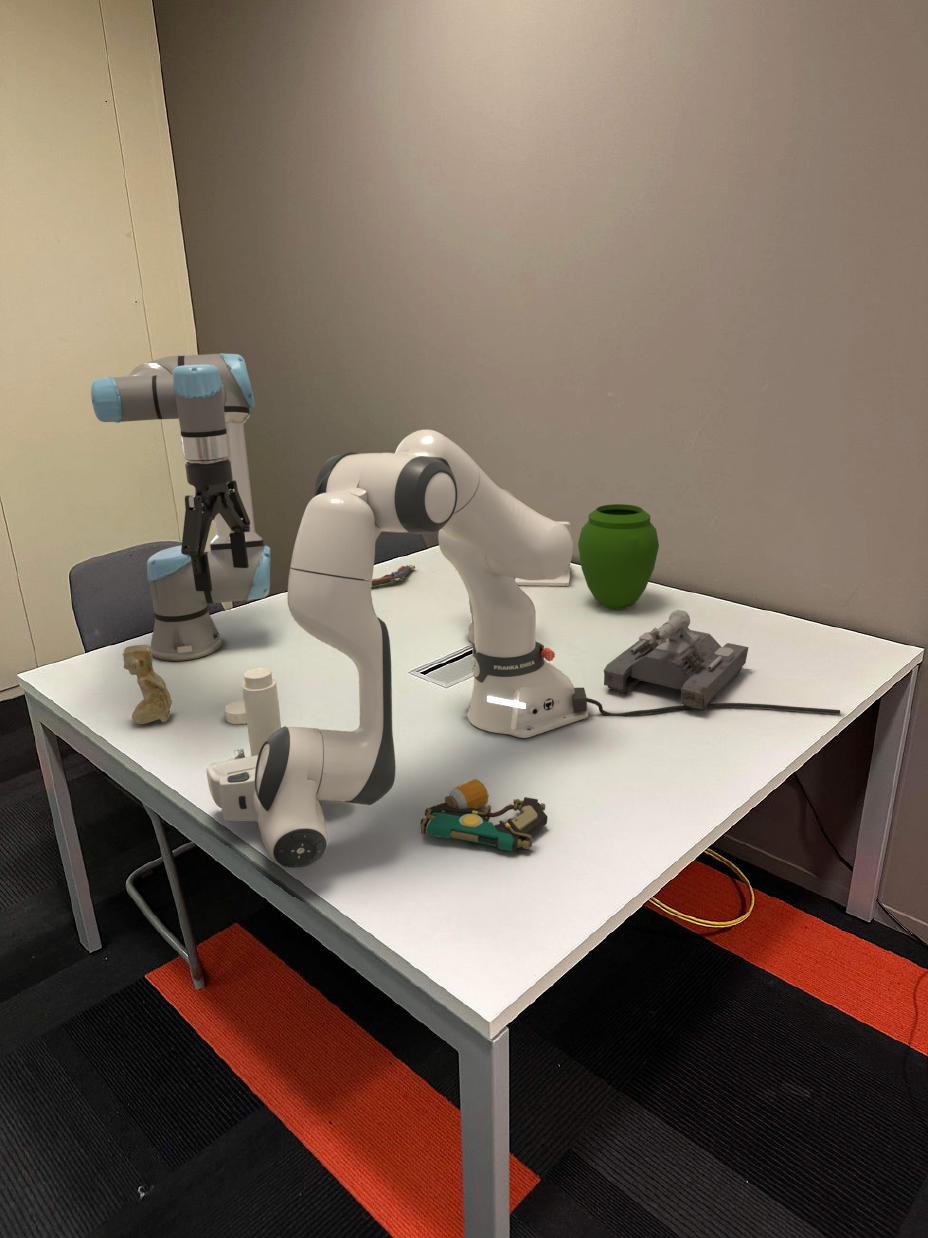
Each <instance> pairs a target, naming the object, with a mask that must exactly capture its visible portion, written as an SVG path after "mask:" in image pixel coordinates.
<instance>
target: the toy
mask: <svg viewBox="0 0 928 1238" xmlns="http://www.w3.org/2000/svg"><path fill="white" fill-rule="evenodd" d="M690 624H691V617H690V614H689V613H688V612H687V611H685V610H680V609H676V610H674V611H672V612H671V613H670V614H669V617H668V620H667V621H665V623H663V624H662V625H660V626H659V627H658V628H657V627H654V628H653V629H652V630H651V631H647V632H644V633H643V634H641V635H639V637H638V640H637V641H636V642H634V644H632V645H631V646H630V647H628V648H626V649H625V650H624V651H623V652H622V653H620V654H619V655H618V656H616V657H615V658H613V659H612V660H611V661H610V662H608V663H607V664H606V666H605V668H604V669H603V685H604V686H607V688H608V689H609V690H610V689H611V690H615V691H618V692H622V693H628V692H629V691H630V690H631V689H632V688H634V687H635V686H636V685H637V684H638V683H640V682H645V683H648V684H649V683H650V684H653V685H658V686H662V687H667V688H671V689H675V690H680V691H681V693H680V705H685V706H688V707H691V708H690V709H696V710H700V711H705V709H707V708H708V707H707V706H708V704H709V703H713V702H714V700H715V699H716V698H717V697H718V696H719V695H720V694H721V693H722V692H723V691H724V690H725V689H726V688H727V687H728V686H729V684H731V683H732V682H733V680H734V679H735V678H736V677H738V676H739V674H740V673H741V672H742V669H743V667H744V666H745V664H746V663H747V658H748V652H749V646H746V645H745V646H744V645H740V644H735V643H730V642H726V643H725V644H724V645H723V646H721V644H720V643H719V642H718V641H717V640H716V639H715V638H714V637H713V635H711V633H709V632H702V631H698V630H693V629H690V628H689V626H690Z"/></svg>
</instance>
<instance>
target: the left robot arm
mask: <svg viewBox="0 0 928 1238" xmlns="http://www.w3.org/2000/svg"><path fill="white" fill-rule="evenodd" d="M90 399H91V404H92V409H93V412H94V415H95V417H96V419H97V420H99V422H101V423H116V424H118V423H125V422H126V423H127V422H140V421H155V420H159V421H160V420H177V419H178V420H179V421H178V422H179V423H178V424H179V428H180V436H181V445H182V450H183V459H185V460H186V463H185V464H184V467H185V475H186V481H187V483H188V484H189V485H190V486H193V487H194V489H195V492H194V495H188V494H187V495H185V496H184V506H185V512H184V519H183V520H184V521H183V529H182V530H183V531H182V539H181V545H177V546H171V547H167V548H165V549H162V550H160V551H158V552H155V553H154V554H153V555H151V556H149V558H148V559H147V561H146V572H147V573H146V574H147V578H146V579H147V581H148V586H149V591H150V598H151V603H152V609H153V615H154V626H153V631H152V636H151V642H150V646H151V647H152V649H151V653H152V657H154V658H156V659H158V660H162V661H169V662H181V661H190V660H195V659H200V658H203V657H206V656H208V655H211V654H213V653H215V652H216V651H218V650H219V649H220V648H221V646H222V638H221V637H222V636H221V634H220V632H219V630H218V628H217V626H216V624H215V622H214V621H213V619H212V616H211V615H210V612H209V604H210V605H211V604H220V603H230V602H231V603H232V602H242V601H247V602H249V601H251V600H258V599H264V598H266V597H267V596H268V595H269V593H270V587H271V562H272V561H271V555H272V554H271V552H272V549H271V547H270V546H268V545H264V538H263V537H261V536H260V535H259V534H258V533H257V532H256V527H255V526H256V525H255V518H254V507H253V506H254V505H253V498H252V490H251V489H252V488H251V479H250V471H249V470H250V469H249V463H248V462H249V459H248V452H247V451H248V450H247V443H246V434H245V423H246V422H247V421H248V420H249V418H250V417H251V413H250V409H253V408H256V402H255V397H254V393H253V389H252V384H251V380H250V376H249V372H248V368H247V364H246V360H245V358H244V357H243V356H242V355H240V354H238V353H223V352H220V353H208V354H207V353H205V354H191V355H189V354H188V355H169V356H164V357H160V358H157V359H153V360H149V361H147V362H145V363H142V364H138V365H137V366H136V367H135V368H133V370H132V371H131V372H130V374H127V375H124V376H107V377H100V378H97V377H96V378H95V379H93V380H92V381H91V385H90ZM212 522H214V530H215V536H214V537H213V539H212V540H211V541H210V542H209V549H210V551H205V550H206V545H207V543H208V539H209V533H210V530H211V526H212Z"/></svg>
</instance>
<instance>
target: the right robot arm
mask: <svg viewBox="0 0 928 1238" xmlns="http://www.w3.org/2000/svg"><path fill="white" fill-rule="evenodd" d="M314 484H315V485H314V497H312V499H310V500H309V502H308V504H307V505H306V507H305V509H304V512H303V515H302V518H301V521H300V524H299V528H298V530H297V534H296V538H295V541H294V545H293V551H292V555H291V560H290V561H291V562H290V565H289V566H290V568H289V572H288V581H287V607H288V610H289V612H290V615H291V616H292V618H293V620H294V621H295V622H296V624H297V625H298V626H299V627H300V628H301V629H302V630H304V632H306V633H307V634H309V636H312V637H313V638H315V639H317V640H318V641H320V642H322V643H324V644H325V645H328V646H330V647H332V648H333V649H335V650H337V651H339V652H340V653H342V654H344V655H345V656H347V657H348V658H349V659H350V660H351V661H352V662H353V664H354V666H355V667H356V670H357V675H358V697H359V698H358V700H359V701H358V702H359V703H358V705H359V725H358V727H357V728H356V729H355V730H339V729H338V730H336V729H324V728H323V729H322V728H318V727H306V726H304V727H303V726H286V725H284V726H281V728H280V729H278V730H277V731H276V732H275V733H273V734H272V735H271V736H270V737H269V738H268V739H267V740H266V742H265V743H264V744H263V745H262V747H261V749H260V752H259V755H256V756H251V755H250V756H246V755H245V749H244V748H240V749H235V750H233V753H234V754H233V755H232V756H231V757H230V759H228V760H225V761H219V762H214V763H211V764H209V765H208V766H207V767H206V778H207V783H208V790H209V792H210V795H211V798H212V800H213V802H214V804H215V805H216V806H217V807H219V808H220V809H221V811H222V815H223V818H224V820H225V821H227V822H257V824H258V828H259V833H260V836H261V840H262V843H263V844H264V847H265V850H266V851H267V853H268V854H269V857H270V858H271V859H272V860H273V861H274V862H275V863H277V864H278V865H280V866H281V867H283V868H290V869H291V868H292V869H298V868H305V867H309V866H311V865H313V864H314V863H316V862H319V860H320V859H321V858H322V857H324V855H325V854H326V851H327V850H328V846H329V838H328V829H327V823H326V818H325V815H324V812H323V809H322V806H321V803H320V801H330V802H331V801H333V802H345V803H349V804H356V805H357V804H358V805H365V806H371V805H373V804H375V803H377V802H378V801H380V800H381V799H382V798H383V797H384V796H386V794H388V792H390V790H391V789H392V788H393V786H394V785H395V784H394V783H395V779H396V754H395V743H394V733H393V688H392V686H393V683H392V677H393V676H392V651H391V639H390V634H389V630H388V627H387V624H386V623H385V621H383V620H382V619H381V618H379V616H378V615H377V613H376V611H375V608H374V604H373V597H372V587H371V585H372V581H369V580H372V579H373V575H374V568H375V556H376V541H377V539H378V538H379V536H380V535H381V534H382V533H383V532H385V533H388V532H389V533H410V534H413V535H425V534H433V533H436V532H437V542H438V547H439V550H440V552H441V554H442V556H443V557H444V558H445V559H446V560H447V561H448V562H449V563H450V564H451V565H452V566H453V567H454V569H455V571H457V573H458V575H459V577H460V579H461V580H462V582H463V584H464V587H465V589H466V592H467V594H468V598H469V597H470V601H471V605H472V610H473V621H474V639H475V644H473V645H472V655H471V668H472V676H473V687H472V688H473V689H472V694H471V699H470V700H471V701H470V705H469V708H468V712H467V720H468V721H469V723H470V724H472V725H473V726H474V727H476V728H478V729H479V730H481V731H486V732H489V733H496V734H504V735H510V736H513V737H517V738H520V739H528V738H531V737H535V736H536V735H537V736H538V735H540V734H542V733H545V732H549V731H551V730H555V729H557V728H560V727H564V726H567V725H569V724H573V723H575V722H578V721H581V720H585V719H587V718H588V717H589V708H588V704H589V703H590V704H593V705H595V706H596V707H598V711H599V713H600V714H602V715H603V716H607V717H631V716H638V715H649V714H657V713H663V712H671V711H678V710H689V709H692V708H691V707H688V706H685V705H683V704H680V705H671V706H665V707H659V708H651V709H650V708H649V709H639V710H632V711H631V710H630V711H626V712H620V713H619V712H618V713H617V712H615V713H613V712H608V711H607V710H604V708H603V704H602V703H601V702H600V701H598V700H596V699H592V698H589V697H587V694H586V689H585V687H574V684H573V682H572V680H571V679H570V677H569V676H568V675H567V674H566V673H565V672H564V671H562V670H561V669H559V668H558V667H556V666H555V665H553V664H552V663H550V662H552V661H553V660H554V658H555V657H556V653H555V652H554V650H552V649H551V648H550V647H545V646H544V644H542V643H540V642H538V641H536V634H537V633H536V629H537V628H536V625H537V624H536V622H537V621H536V620H537V619H536V614H537V613H536V607H535V604H534V601H533V600H532V598H531V597H530V596H529V595H528V594H527V593H526V592H524V590H522V589H521V588H520V585H517V583H516V582H515V580H514V578H513V577H515V578H520V579H525V580H554V579H557V578H558V577H560V576H561V575H562V574H563V573H564V572H565V570H566V569H567V568H568V566H569V564H570V562H572V559H573V554H574V542H573V538H572V535H571V532H570V533H569V531H568V529H567V528H566V527H565V526H564V525H562V524H560V523H558V522H559V521H555V520H553V519H551V518H549V517H547V516H545V515H543V514H541V513H539V512H537V511H536V510H534V509H533V508H531V507H530V506H528V505H526V504H525V503H524V502H522V501H520V500H519V499H518V498H516V497H515V496H514V495H513V496H514V497H515V498H514V497H513V496H511V495H509V494H508V493H506V492H505V491H503V490H502V489H503V488H501V487H499V486H498V485H497V484H496V483H495V482H494V481H493V480H492V479H491V478H490V477H489V476H488V475H487V473H486V472H485V471H483V469H482V468H481V467H480V465H478V464H477V462H476V461H475V460H473V458H472V457H471V456H470V455H469V454H468V453H467V452H466V451H465V450H464V449H463V448H462V447H460V446H459V445H458V444H457V443H456V442H454V441H452V440H451V439H450V438H448V437H447V436H445V435H444V434H443V433H440V432H439V431H437V430H433V429H420V430H419V429H418V430H416V431H413V432H411V433H409V434H408V435H407V436H405V437H404V438H403V439H402V440H401V442H399V444H398V446H397V447H396V450H395V452H366V453H365V452H364V453H359V452H354V451H351V452H344V453H340V454H336V455H333V456H332V457H329V458H328V459H327V460H326V462H324V463H323V465H322V466H321V468H320V470H319V472H318V475H317V477H316V480H315V483H314ZM706 708H753V709H754V708H755V709H769V710H770V709H771V710H782V711H783V710H784V711H795V712H807V713H820V714H821V713H822V714H835V715H840V714H841V709H833V708H832V709H831V708H817V707H805V706H791V705H780V704H767V703H749V702H748V703H747V702H711V703H709V704H708V706H707V707H706Z"/></svg>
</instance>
